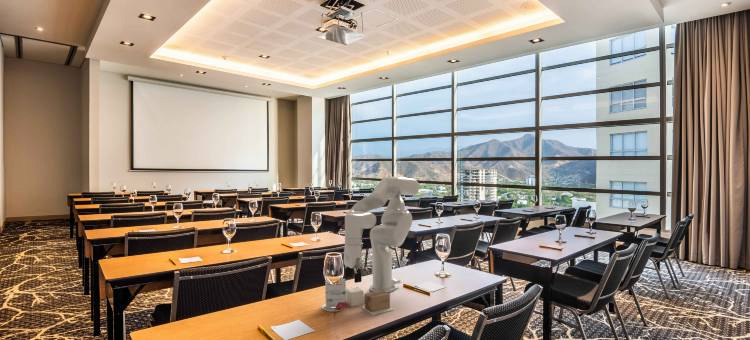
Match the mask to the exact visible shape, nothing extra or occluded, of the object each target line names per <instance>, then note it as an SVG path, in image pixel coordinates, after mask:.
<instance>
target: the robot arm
mask: <svg viewBox="0 0 750 340" xmlns="http://www.w3.org/2000/svg"><path fill="white" fill-rule="evenodd" d="M419 190H420V184H419V182H418V180H416V179H415V178H410V177H409V178H408V177H405V176H404V177H403V176H385V177H383V178H382V179H381V180H380V181H379V182H378V184H377V185H376V186H375V188H374V190H373V191H372V192H371V193H370V194H369V195H367V196H366V197H364V198H362V199H361V200H358V201H357V202H356V203H354V205H353V206H352V207H351V208H350V210H349V211H348V213H347V214H345V216H344V249H343V265H344V271H345V272H344V277H345V279H346V278H347V279H348V278H352V277H353V276H354V279H353V280H354V283H355V284H357V283H361V282H362V277H363V275H362V274H363V273H362V272H363V267H364V264H363V257H362V256H363V253H362V245H363V243H362V241H363V240H362V239H363V236H362V235H363V234H362V233H363V232H362V231H363V229H365V230H366V229H370V231H369V239H370V243H371V253H372V257H371V258H372V261H371V262H372V265H371V266H372V285H370V286H369V291H371V293H372V292H376V291H381V290H383V291H385V292H387V293H392V292H394V291H395V290H396V286H395V285H397V284H401V279H396V278H393V277H392V276H393V275H392V274H393V273H392V272H393V271H392V269H393V263H392V259H393V257H392V251H391V248H390V247H395V248H396V247H401V246H402V245H403V244H404V243H405V240H406V238H407V236H408V234H409V232H410V230H411V227H412V224H413V216H412V213H411V212H410V211H409V210H406V209H405V208H406V207H405V206H406V204H405V202H404V199H403V197H402V196H415V195H417V194H418V193H419V192H420V191H419ZM388 201H389V202H388ZM387 202H388V204H387V206H386V207H385V208H386V209H385V210H384V212H383V214H382V216H381V219H380V223H381V225H376V224H377V216H376V215H375V214H374V213H373V212H370V211H373V210H377V209H380V208H382V207H384V206H385V205H386V203H387ZM353 271H354V275H353Z"/></svg>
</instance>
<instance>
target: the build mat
mask: <svg viewBox="0 0 750 340" xmlns="http://www.w3.org/2000/svg"><path fill="white" fill-rule="evenodd" d="M361 308H362V309H363V311H366V312H367V313H369V314H370V315H372V316H375V315H379V314H383V313H388V312H393V311H394V308H391V307H390V308H388V309H383V310H379V311H375V312H371V311H369V310H367V309H366V308H365V305H364V306H363V305H362V306H361Z"/></svg>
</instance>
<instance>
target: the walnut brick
mask: <svg viewBox="0 0 750 340" xmlns="http://www.w3.org/2000/svg"><path fill="white" fill-rule="evenodd" d="M364 306H365V308H366V309H367V310H369V311H371V312H375V311H379V310H383V309H388V308H391V295H390V292H388V293H387V292H385V291H383V290H381V291H376V292H372V291H371V292H368V293H364Z"/></svg>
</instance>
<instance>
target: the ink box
mask: <svg viewBox="0 0 750 340" xmlns="http://www.w3.org/2000/svg"><path fill="white" fill-rule="evenodd" d="M341 279H342V280H341V281H339V282H338V283H337V284H336V285H332V284H330V282H329V281H327V279H326V280H325V282H324V283H325V285H324V286H325V287H324V288H325V309H332V308H331V307H336V308H335V309H346V307H347V303H346V289H347V288H346V284H347V283H346V280H347V279H346V278H341ZM328 282H329V283H328Z"/></svg>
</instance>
